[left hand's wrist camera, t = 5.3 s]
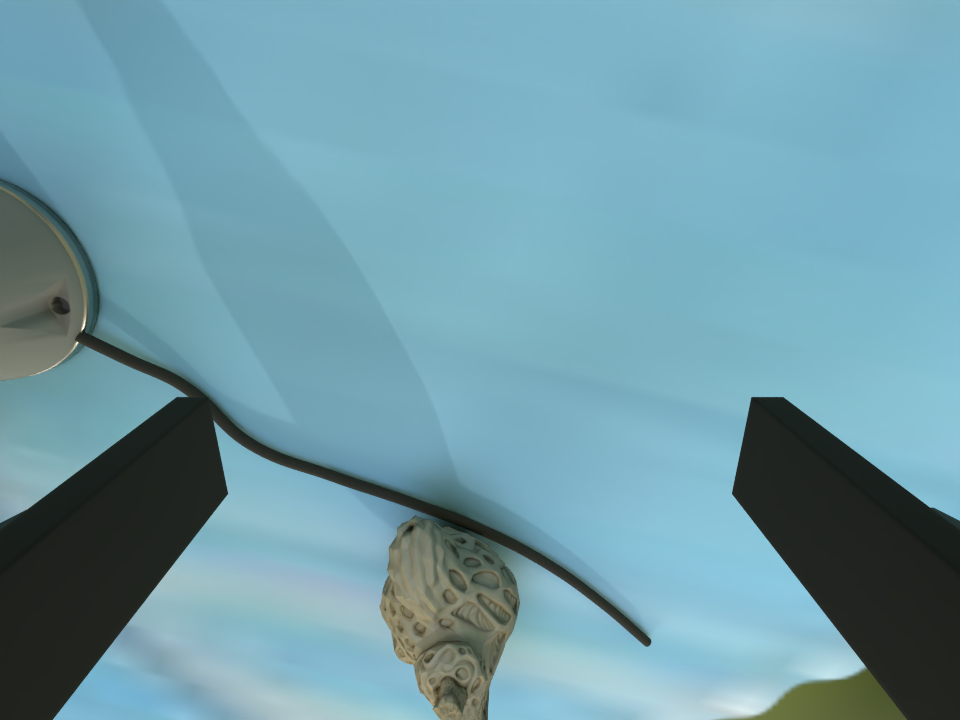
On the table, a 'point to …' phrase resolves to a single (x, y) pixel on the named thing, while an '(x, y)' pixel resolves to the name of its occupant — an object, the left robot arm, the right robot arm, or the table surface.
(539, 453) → the table surface
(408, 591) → the teapot
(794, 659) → the table surface
